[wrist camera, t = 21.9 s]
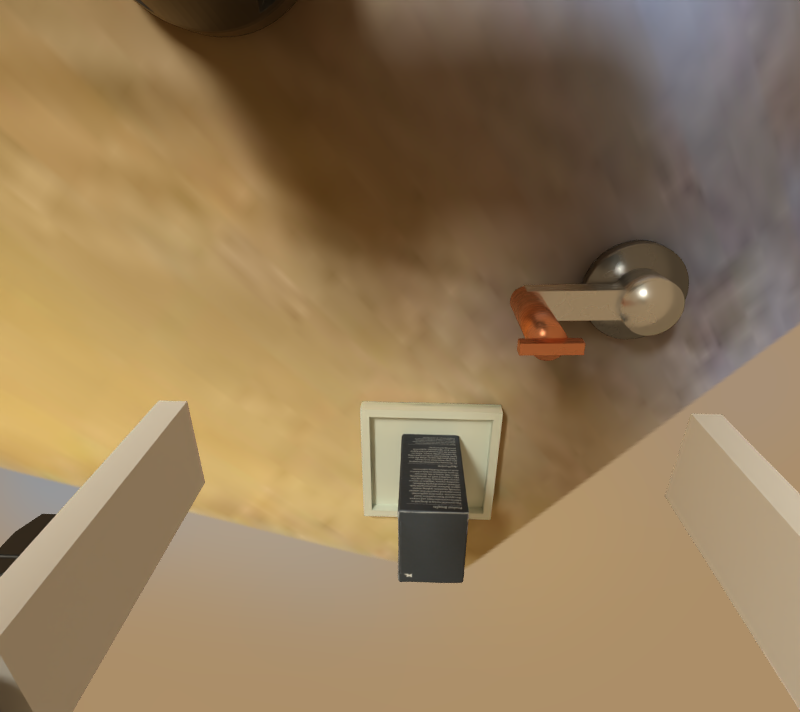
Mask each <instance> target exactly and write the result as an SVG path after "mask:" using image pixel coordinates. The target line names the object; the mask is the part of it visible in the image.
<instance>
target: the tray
mask: <svg viewBox="0 0 800 712" xmlns="http://www.w3.org/2000/svg"><path fill="white" fill-rule="evenodd" d="M502 417H503V411H502V408H501V405H488V404H447V403H405V402H364V401H362V403H361V408H360V419H361V446H362V473H363V500H364V516H383V517H398V514H397V512H398V499H399V480H400V461H401V439H402V435H403V434H430V435H457V436H459V440H460V448H461V455H462V463H463V471H464V479H465V487H466V495H467V502H468V509H469V519H478V520H491V512H492V503H493V495H494V486H495V477H496V469H497V460H498V452H499V443H500V434H501V426H502Z"/></svg>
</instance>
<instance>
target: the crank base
mask: <svg viewBox="0 0 800 712" xmlns="http://www.w3.org/2000/svg"><path fill="white" fill-rule="evenodd" d="M638 268H649V269H652V270H655V271H657V272H658V273H660V274H661V275H663V276H664V277H665V278H667V279H668V280H670V281H671V282H673V283H674V284H676V285H677V286H678V287H679V288H680V289H681V291H682V293H683V295H684V300H685V299H686V296H687V292H688V286H689V279H688V273H687V269H686V267H685V265H684V263H683V261H682V260H681V259H680V257H679V256H678V255H677V254H675V253H674V252H673V251H671V250H670V249H668V248H666V247H664V246H662V245H661V244H658V243H656V242H652V241H646V240H634V241H629V242H625V243H621V244H619V245H617V246H614V247H612V248H611V249H609V250H607V251H606V252H605V253H603V254H602V255H601V256H600V257H599V258H597V259H596V261H595V262H594V263H593V264H592V265H591V267H590V268H589V270H588V271H587V273H586V275H585V277H584V280H583V283H582V284H614V283H615V282H616V281H617V280H618V279H619V278H620V277H621V276H622V275H623V274H625V273H627V272H629V271H631V270H634V269H638ZM590 321H591V322H592V324H593V325H594V326H595V327H596V328H597V329H598V330H600V331H601V332H602V333H604V334H606V335H608V336H611V337H614V338H619V339H634V338H640V337H644V335H639V334H636V333H634V332H632V331H631V330H630V329H629V328H628V327H627V326H626V325H625V324H624V323H623V322H622V321H621V320H590Z"/></svg>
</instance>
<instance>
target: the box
mask: <svg viewBox="0 0 800 712" xmlns="http://www.w3.org/2000/svg"><path fill="white" fill-rule="evenodd" d="M397 514H398V540H399V541H398V546H399V550H398V580H399V581H400V582H435V583H461V582H463V577H464V565H465V553H466V542H467V530H468V519H469V509H468V502H467V495H466V487H465V479H464V471H463V463H462V455H461V448H460V440H459V436H457V435H430V434H403V435H402V439H401V461H400V480H399V499H398V512H397Z"/></svg>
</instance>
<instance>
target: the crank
mask: <svg viewBox="0 0 800 712" xmlns="http://www.w3.org/2000/svg"><path fill="white" fill-rule="evenodd" d="M510 305H511V308H512V310H513V312H514V314H515V316H516V319H517V321H518V323H519V325H520V327H521V330H522V332H523V334H524V336H525V338H524V339H518V346H517V351H518V353H519V355H534V356H535V357H536V358H538V359H540V360H545V361H550V360H554V359H557V358H558V357H560V356H561V355H584V350H585V342H584V341H583V339H582V338H568V337H567V335H566V333H565V332H564V330H563V328H562V327H561V325H560V324H559V322H558V321H589V320H621V321H622V322H623V323H624V324H625V325H626V326H627V327H628V328H629V329H630V330H631V331H632V332H634V333H636V334H639V335H644V336H650V335H656V334H660V333H662V332H664V331H666V330H668V329H669V328H671V327H672V326H673V325H674V324H675V323H676V322H677V321H678V320H679V318H680V316H681V315H682V312H683V310H684V305H685V300H684V295H683V293H682V291H681V289H680V288H679V287H678V286H677V285H676V284H674V283H673V282H671V281H670V280H668V279H667V278H665V277H664V276H663V275H661V274H660V273H658V272H657V271H655V270H652V269H649V268H638V269H634V270H631V271H629V272H627V273H625V274H623V275H622V276H621V277H620V278H619V279H618V280H617V281H616V282H615V283H614V284H541V285H524V286H523V287H520V288H518V289H517V290H515V291H514V293H513V294H512V296H511V299H510Z"/></svg>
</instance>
